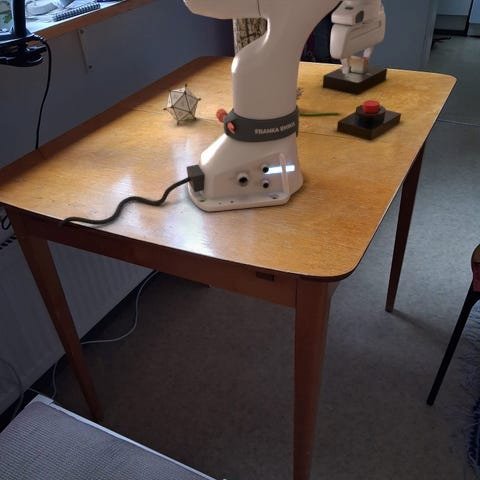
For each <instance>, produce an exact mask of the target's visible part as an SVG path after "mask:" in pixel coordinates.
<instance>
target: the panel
mask: <svg viewBox="0 0 480 480" xmlns="http://www.w3.org/2000/svg"><path fill="white" fill-rule="evenodd" d="M342 70H343V66H341V67H339V68H337V69H334V70H332V71H330V72H328V73H326V74H324V75H323V78H322V87H323V88H325V89H329V90H334V91H338V92H342V93H347V94H351V95H356V96H357V95H360V94H361V93H364V92H366V91H368V90H369V89H371V88H374V87H375V86H377V85H379V84H382V83H383V82H385V81H386V80H387V76H388V75H387V73H388V67H387V68H386V67H381V66H376V65H371V64H367V67H366V73H364V74H359V73H355V72H350V73H349V74H343V72H342Z"/></svg>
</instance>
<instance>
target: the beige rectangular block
mask: <svg viewBox="0 0 480 480" xmlns="http://www.w3.org/2000/svg"><path fill="white" fill-rule="evenodd" d="M349 64H350V66H352V67H351V72H355V73H359V74H364V73H366V67H367V65H368V64H367V57H363V56H356V55H351V57H350V60H349Z"/></svg>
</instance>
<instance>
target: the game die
mask: <svg viewBox="0 0 480 480" xmlns="http://www.w3.org/2000/svg"><path fill="white" fill-rule="evenodd" d="M166 90H167V92H168V97H167V101H166V107H164V108H163V109H162V111H167V112H168V113H169V114H170V115H171V116H172V117H173V118H174V119H175V120H176V124H177V126H179V125H180V122H183V121H187V120H190V119H193V120H196V121H197V117H196V116H195V115H196V111H197V108H198V105H199V104H198V103H199V101H201V100H202V98H201V97H199V98H197V96H196V95H195V94H194V93H193V92H192V90H190V89H189V88H188V83H187V82H186V83H185V84H184V86H183V87H179V88H175V89H171V88H167V89H166Z"/></svg>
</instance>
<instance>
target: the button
mask: <svg viewBox="0 0 480 480" xmlns="http://www.w3.org/2000/svg"><path fill="white" fill-rule="evenodd" d="M380 104H381V103H380V101H378V100H376V99H375V100H374V99H367V100H365V101H363V103H362V105H363V109H362V111H363V112H367V113H375V112H378V111H379V105H380Z"/></svg>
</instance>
